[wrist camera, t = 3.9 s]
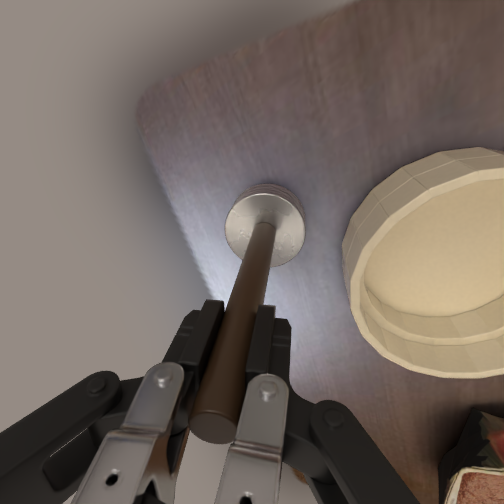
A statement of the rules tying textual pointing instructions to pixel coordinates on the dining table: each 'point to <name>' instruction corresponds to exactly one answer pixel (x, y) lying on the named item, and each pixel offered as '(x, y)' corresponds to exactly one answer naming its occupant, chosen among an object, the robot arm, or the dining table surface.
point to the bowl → (432, 265)
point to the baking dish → (475, 463)
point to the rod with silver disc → (245, 302)
